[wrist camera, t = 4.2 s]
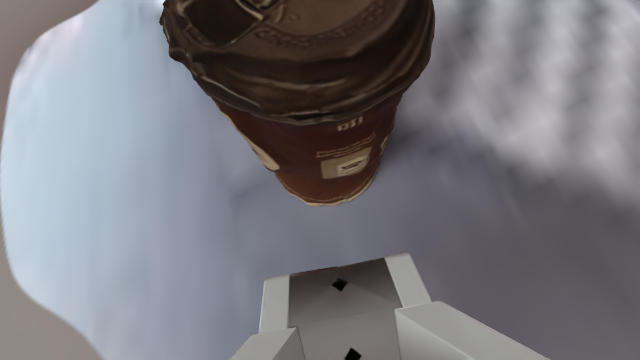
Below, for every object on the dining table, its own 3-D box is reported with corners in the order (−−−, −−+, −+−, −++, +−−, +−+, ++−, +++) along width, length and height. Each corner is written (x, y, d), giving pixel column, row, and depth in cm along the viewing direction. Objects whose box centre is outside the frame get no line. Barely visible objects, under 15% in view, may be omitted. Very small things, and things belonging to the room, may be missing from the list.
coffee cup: (247, 231, 22) (114, 100, 10) (247, 100, 25) (146, -122, 13) (410, 218, 22) (475, 62, 9) (390, 85, 25) (421, -159, 13)
